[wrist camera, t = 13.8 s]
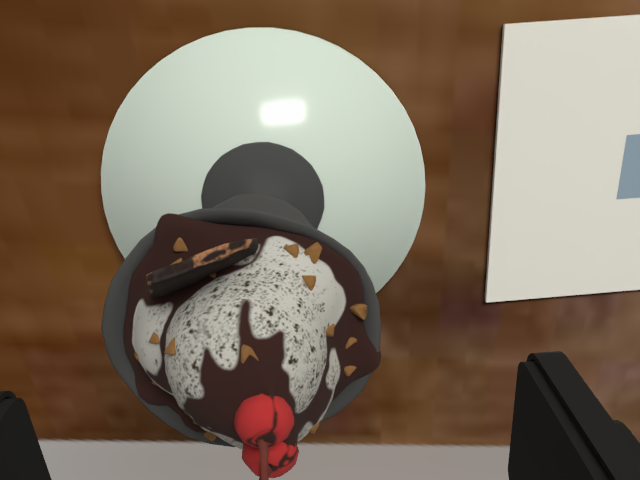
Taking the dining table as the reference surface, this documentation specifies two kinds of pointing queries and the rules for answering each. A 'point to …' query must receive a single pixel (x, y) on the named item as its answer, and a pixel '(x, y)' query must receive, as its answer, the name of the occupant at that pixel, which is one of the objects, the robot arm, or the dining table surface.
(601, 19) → the tile
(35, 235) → the dining table surface
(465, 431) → the dining table surface
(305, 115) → the plate
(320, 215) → the sundae
